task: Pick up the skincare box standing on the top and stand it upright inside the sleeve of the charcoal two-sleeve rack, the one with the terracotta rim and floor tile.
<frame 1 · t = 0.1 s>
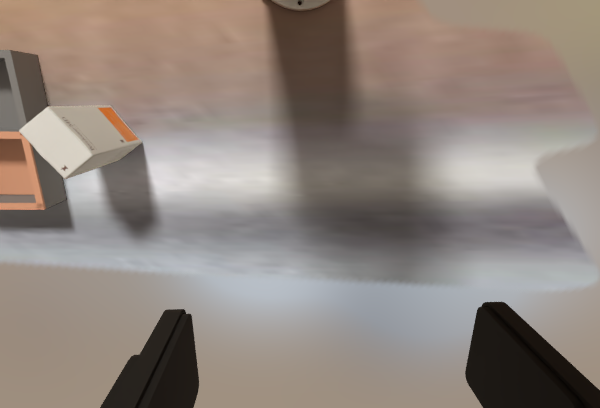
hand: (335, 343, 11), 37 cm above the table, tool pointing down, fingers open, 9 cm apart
sleeve rack: (12, 131, 43), on the table
skincare box: (116, 132, 44), on the table
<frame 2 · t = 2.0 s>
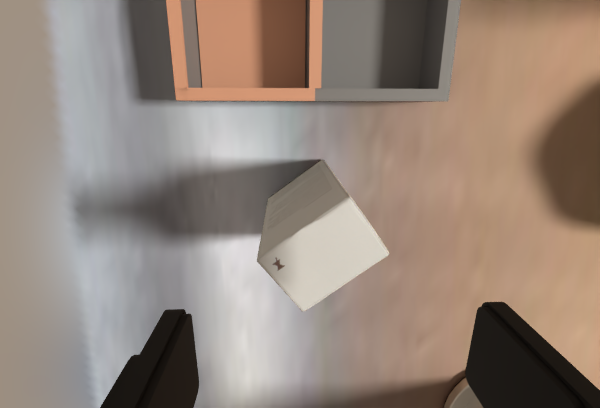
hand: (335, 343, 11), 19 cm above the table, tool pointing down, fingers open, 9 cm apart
sleeve rack: (311, 31, 25), on the table
skincare box: (309, 196, 29), on the table
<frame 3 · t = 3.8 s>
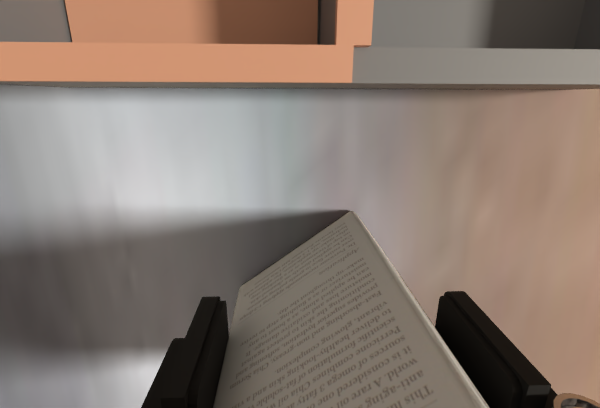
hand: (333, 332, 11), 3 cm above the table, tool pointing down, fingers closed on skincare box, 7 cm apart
skincare box: (322, 279, 15), on the table, touching gripper
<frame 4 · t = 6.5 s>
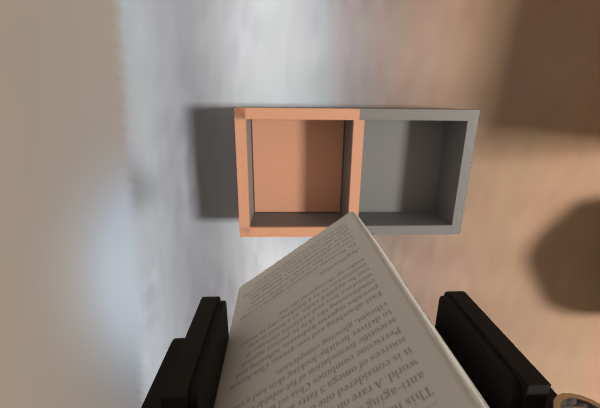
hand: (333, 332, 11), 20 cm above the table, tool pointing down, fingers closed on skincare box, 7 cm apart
sleeve rack: (346, 165, 30), on the table
skincare box: (323, 279, 15), point 17 cm above the table, touching gripper
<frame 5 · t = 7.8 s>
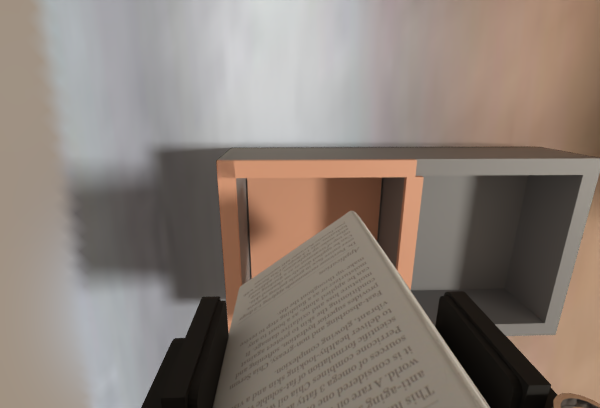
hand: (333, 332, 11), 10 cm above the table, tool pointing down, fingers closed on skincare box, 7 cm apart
sleeve rack: (382, 227, 21), on the table
skincare box: (323, 279, 15), point 7 cm above the table, touching gripper
when the fingers open (6 cm above the table, at t = 9.1 s): skincare box drops 2 cm, resting on sleeve rack.
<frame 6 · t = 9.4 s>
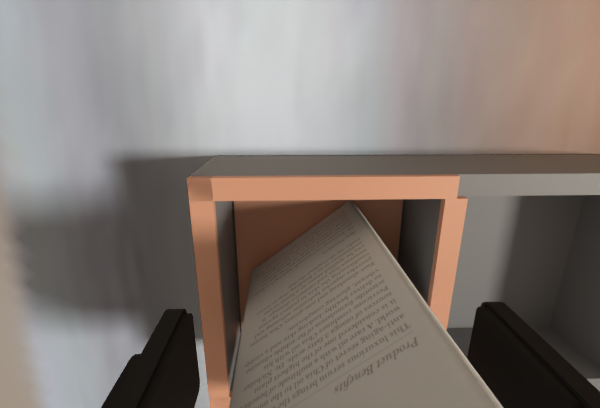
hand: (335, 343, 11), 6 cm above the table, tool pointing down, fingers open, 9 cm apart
sleeve rack: (401, 252, 17), on the table
skincare box: (325, 262, 16), point 1 cm above the table, touching sleeve rack
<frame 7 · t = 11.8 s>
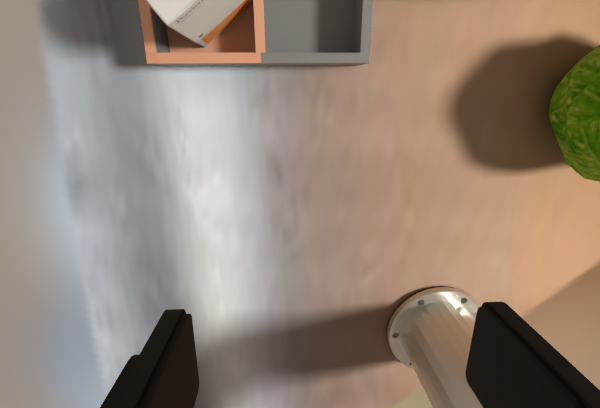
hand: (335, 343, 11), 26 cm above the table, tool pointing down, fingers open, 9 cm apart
sleeve rack: (260, 5, 30), on the table
skincare box: (214, 6, 29), point 1 cm above the table, touching sleeve rack
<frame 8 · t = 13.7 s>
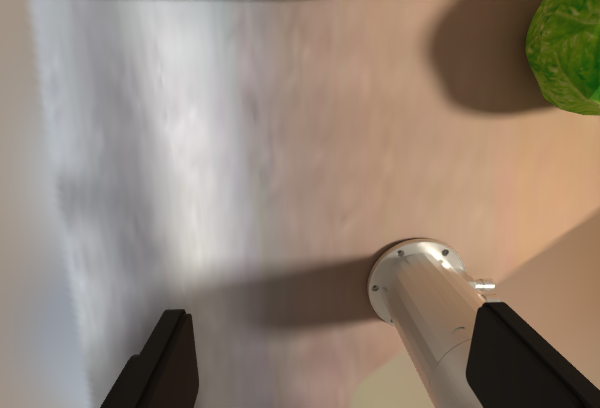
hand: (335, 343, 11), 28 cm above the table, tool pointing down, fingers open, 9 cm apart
lettuce: (590, 45, 35), on the table
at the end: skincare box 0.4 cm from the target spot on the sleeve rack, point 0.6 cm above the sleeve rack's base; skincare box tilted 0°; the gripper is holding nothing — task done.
